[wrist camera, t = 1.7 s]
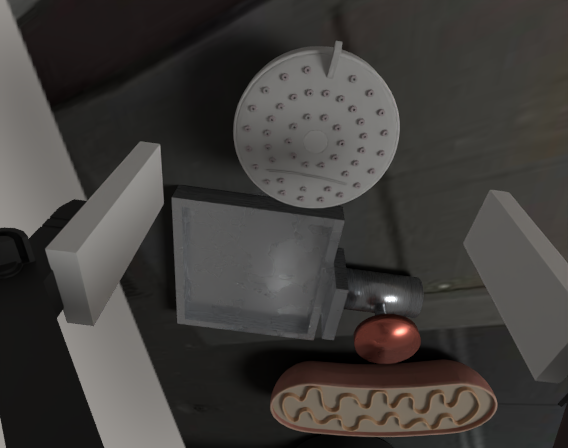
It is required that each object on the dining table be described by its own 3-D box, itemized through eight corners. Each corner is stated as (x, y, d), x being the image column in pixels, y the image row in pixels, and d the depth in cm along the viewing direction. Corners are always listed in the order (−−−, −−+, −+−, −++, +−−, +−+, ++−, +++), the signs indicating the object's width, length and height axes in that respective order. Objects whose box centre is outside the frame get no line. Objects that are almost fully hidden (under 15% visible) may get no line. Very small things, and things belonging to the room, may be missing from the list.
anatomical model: (487, 340, 40) (507, 383, 36) (469, 395, 46) (485, 438, 42) (269, 343, 42) (265, 384, 38) (278, 395, 48) (275, 436, 44)
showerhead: (435, 62, 19) (373, 229, 24) (404, 36, 24) (360, 175, 30) (240, 23, 18) (223, 203, 24) (257, 6, 24) (240, 153, 30)
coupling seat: (182, 308, 40) (160, 371, 34) (178, 184, 31) (147, 239, 25) (389, 334, 40) (403, 401, 34) (437, 219, 32) (468, 281, 26)
